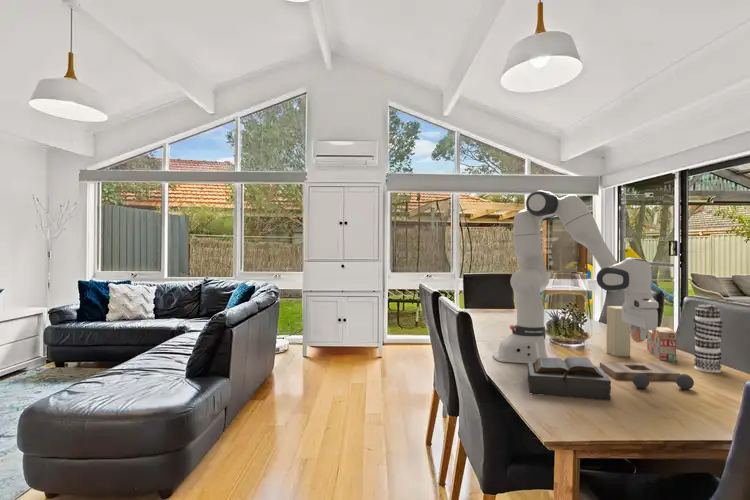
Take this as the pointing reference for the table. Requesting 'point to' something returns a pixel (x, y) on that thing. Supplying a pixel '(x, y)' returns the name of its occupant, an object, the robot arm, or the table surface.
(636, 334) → the terracotta ball
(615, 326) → the toy refrigerator
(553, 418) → the table surface
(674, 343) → the stack of blocks
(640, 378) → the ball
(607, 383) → the bible
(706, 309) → the black white tall cylinder
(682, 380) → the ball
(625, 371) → the walnut board
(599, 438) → the table surface
